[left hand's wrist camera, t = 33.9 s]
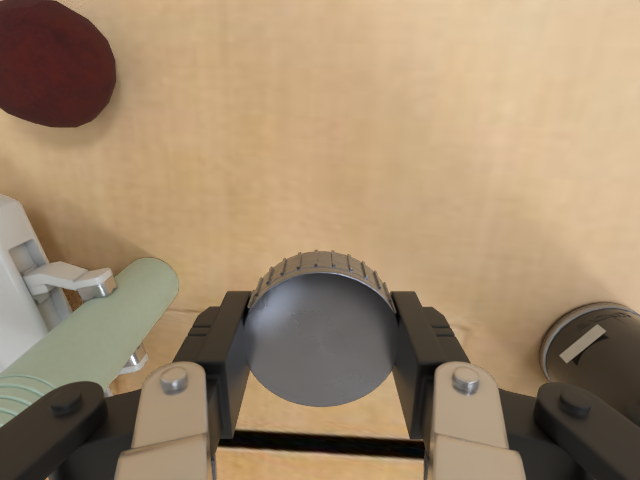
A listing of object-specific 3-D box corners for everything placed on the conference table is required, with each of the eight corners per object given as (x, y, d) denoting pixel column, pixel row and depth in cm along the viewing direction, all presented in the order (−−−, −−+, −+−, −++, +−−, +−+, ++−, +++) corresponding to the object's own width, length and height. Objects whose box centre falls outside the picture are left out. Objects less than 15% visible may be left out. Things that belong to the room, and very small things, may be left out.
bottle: (184, 266, 33) (6, 479, 14) (172, 312, 34) (-1, 560, 16) (129, 250, 32) (-129, 448, 14) (120, 297, 34) (-124, 534, 15)
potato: (3, 44, 27) (-101, 25, 20) (95, -11, 26) (17, -50, 19) (68, 143, 29) (-6, 154, 23) (156, 96, 28) (105, 94, 22)
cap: (369, 228, 11) (376, 247, 10) (409, 353, 13) (420, 385, 11) (225, 275, 12) (212, 299, 10) (279, 390, 13) (275, 425, 12)
